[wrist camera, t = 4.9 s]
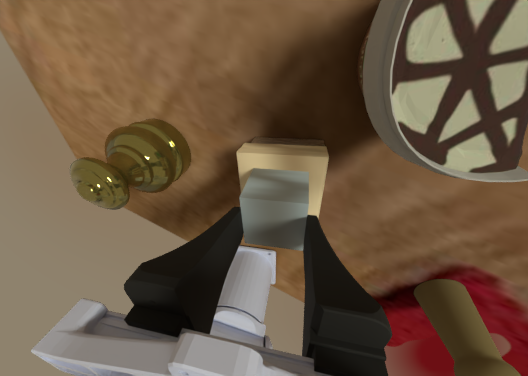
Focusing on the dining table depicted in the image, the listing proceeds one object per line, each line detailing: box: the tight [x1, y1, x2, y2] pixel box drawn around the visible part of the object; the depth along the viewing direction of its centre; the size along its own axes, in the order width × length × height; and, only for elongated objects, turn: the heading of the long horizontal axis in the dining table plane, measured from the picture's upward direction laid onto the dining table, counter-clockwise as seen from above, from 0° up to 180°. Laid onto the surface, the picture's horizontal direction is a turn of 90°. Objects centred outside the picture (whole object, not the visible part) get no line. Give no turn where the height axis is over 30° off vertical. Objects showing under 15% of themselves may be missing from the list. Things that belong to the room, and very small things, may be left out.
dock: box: [251, 137, 324, 146], centre depth 21 cm, size 7×6×2 cm
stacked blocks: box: [236, 143, 329, 251], centre depth 16 cm, size 7×7×6 cm
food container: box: [357, 0, 528, 182], centre depth 11 cm, size 12×6×10 cm, turn 20°
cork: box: [414, 279, 521, 376], centre depth 23 cm, size 6×6×11 cm
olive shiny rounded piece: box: [70, 119, 191, 210], centre depth 20 cm, size 7×7×10 cm
